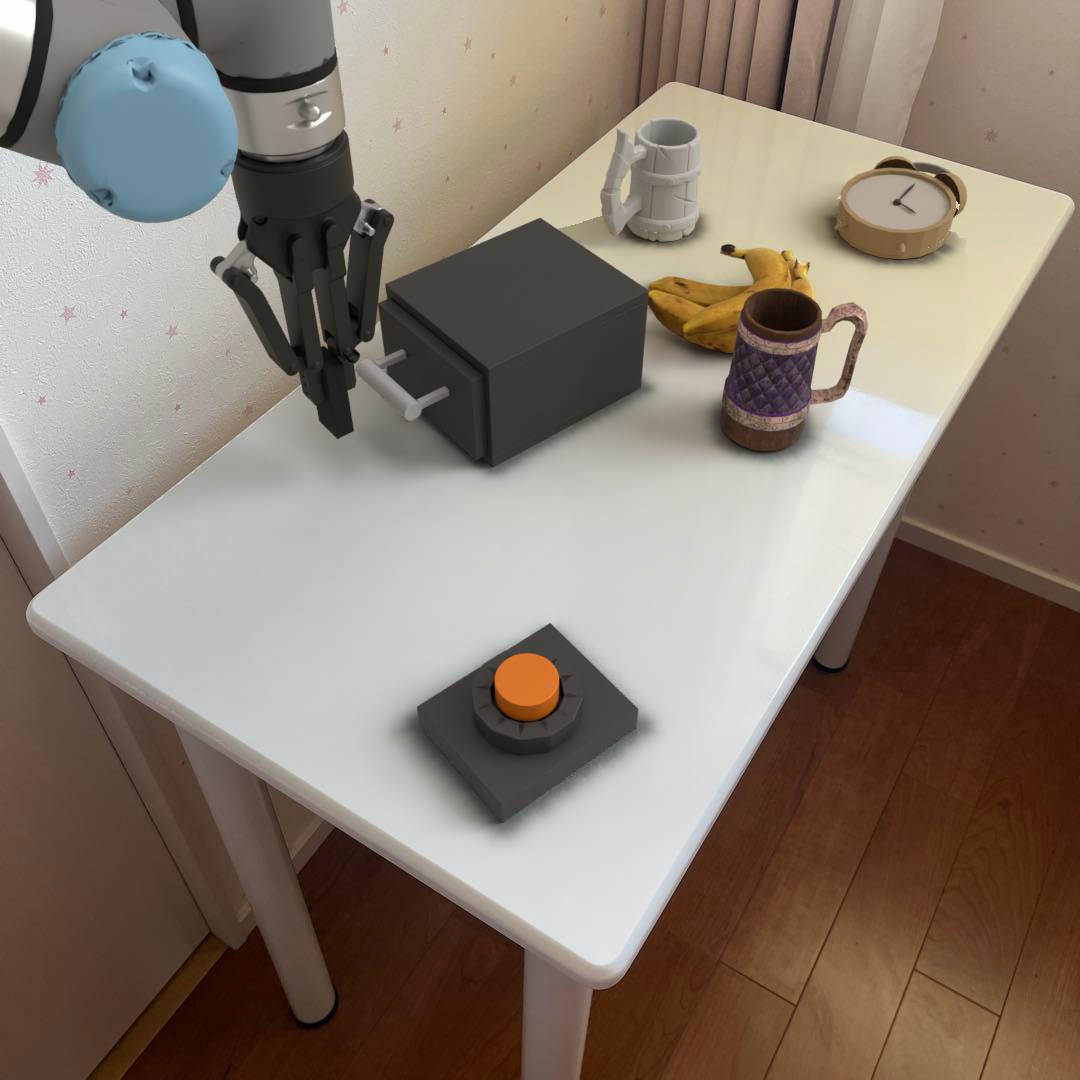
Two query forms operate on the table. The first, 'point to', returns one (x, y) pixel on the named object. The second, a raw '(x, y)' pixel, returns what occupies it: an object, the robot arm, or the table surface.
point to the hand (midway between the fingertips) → (336, 425)
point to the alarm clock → (900, 208)
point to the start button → (526, 687)
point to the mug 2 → (781, 367)
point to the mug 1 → (655, 180)
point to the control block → (526, 726)
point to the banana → (723, 297)
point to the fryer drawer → (428, 379)
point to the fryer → (533, 329)
